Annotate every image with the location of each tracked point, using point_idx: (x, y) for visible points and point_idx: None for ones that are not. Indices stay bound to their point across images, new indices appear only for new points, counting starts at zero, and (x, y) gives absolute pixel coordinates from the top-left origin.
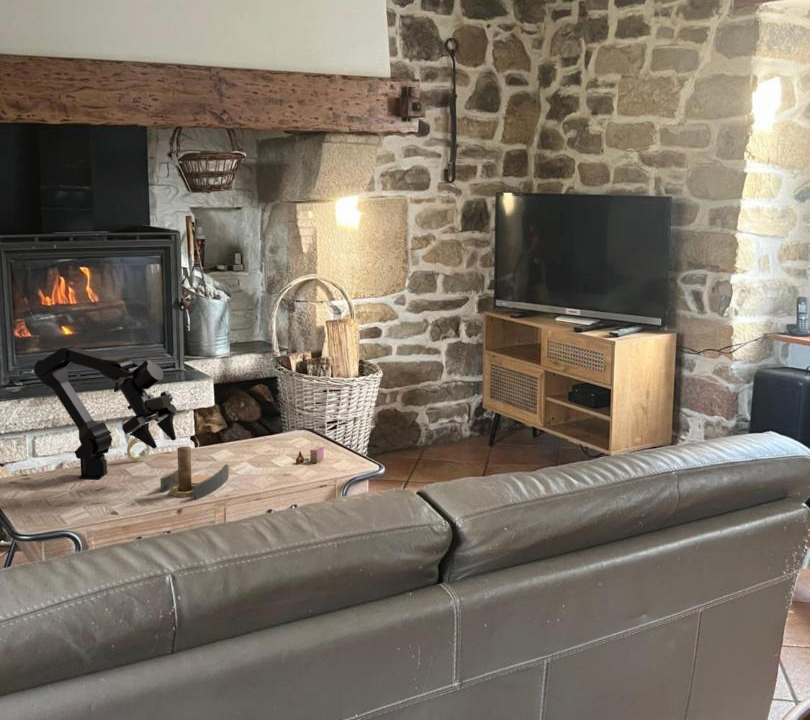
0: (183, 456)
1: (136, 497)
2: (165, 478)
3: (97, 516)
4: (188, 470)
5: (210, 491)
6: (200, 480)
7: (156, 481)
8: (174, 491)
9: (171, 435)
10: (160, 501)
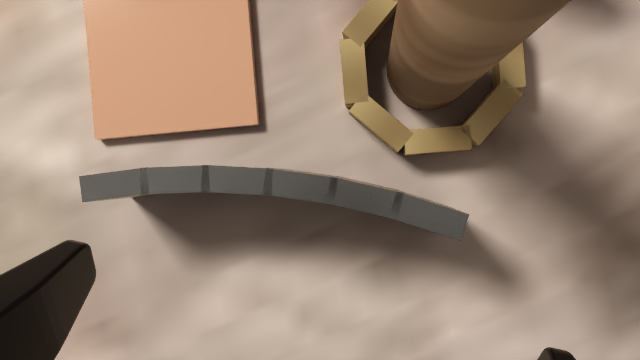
0: None
1: (582, 337)
2: (441, 205)
3: None
4: None
5: None
6: (197, 60)
7: (250, 338)
8: (503, 109)
9: (45, 318)
10: (625, 155)
